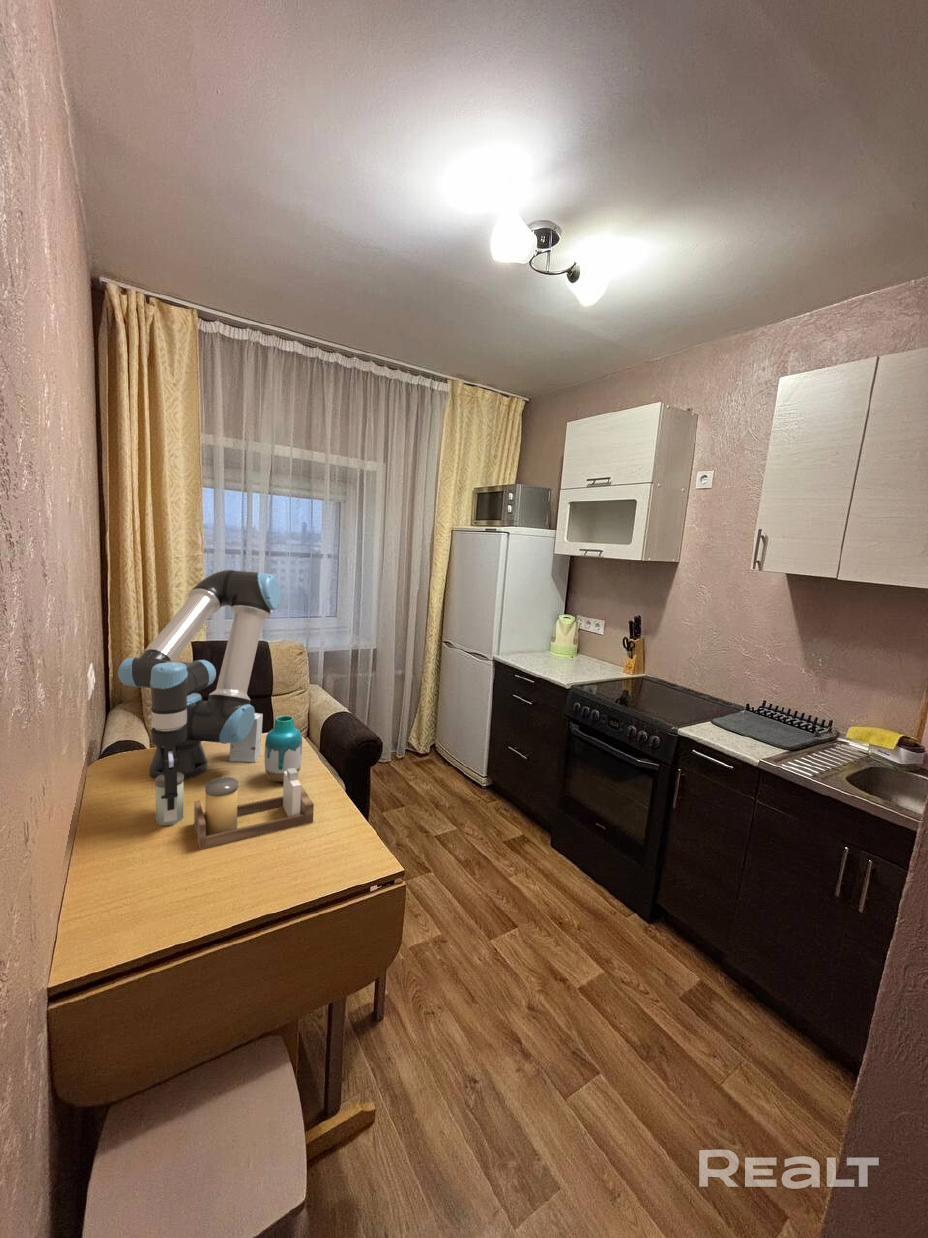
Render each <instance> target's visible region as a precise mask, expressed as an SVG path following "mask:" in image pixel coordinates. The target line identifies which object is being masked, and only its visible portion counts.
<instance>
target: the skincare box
mask: <svg viewBox="0 0 928 1238" xmlns="http://www.w3.org/2000/svg"><path fill="white" fill-rule="evenodd" d="M254 714H255V719H254V723H253V726H252V728H251V730H250V732H249V734H248V735H247V736H246V737H245V739H244V740H242V741H241V742H239V743H229V745H230V748H229V762H241V763H242V762H244V763H245V762H246V763H255V762H256V761H257V760H258V758H260V756H261V749H262V748H261V747H262V735H263V734H262V733H263V720H264V719H263V717H264V715H263V713H259V712H255V713H254Z"/></svg>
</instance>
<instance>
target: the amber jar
mask: <svg viewBox="0 0 928 1238" xmlns="http://www.w3.org/2000/svg"><path fill="white" fill-rule="evenodd" d="M204 793H205V811H204V812H205V823H206V836H208V835H212V834H217V833H221V832H225V831H229V830H234V829H238V816H237V805H238V804H239V803H238V799H239V797H238V793H239V780H238V779H236V778H234V777H230V776H227V777H226V776H223V777H216V778H214V779H211V780H210V781H209V780H208V782H206V783H205V787H204Z"/></svg>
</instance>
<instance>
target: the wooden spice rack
mask: <svg viewBox="0 0 928 1238" xmlns="http://www.w3.org/2000/svg"><path fill="white" fill-rule="evenodd" d="M193 806H194V813H193V815H194V816H193V817H194V818H193V819H194V821H193V822H194V824H193V825H194V829H195V833H196V838H197V842H198V843H197V844H198V847H199V848H198V849H199V850H204V849H209V848H213V847H218V846H221V845H225V844H230V843H233V842H238V841H242V840H246V839H250V838H254V837H258V836H261V835H262V836H263V835H266V834H270V833H274V832H278V831H282V830H287V829H291V828H294V827H299V826H303V825H307V824H312V823H314V807H315V805H314V802H313V801H312V799H311V798H310V795H308V793H307V792H306V790H305V789H304V787H303V786H302V784H301V802H300V814H298V815H294V816H290V817H288V816H286V817H282V818H278V819H277V818H276V819H272V820H268V821H265V822H260V823H257V824H253V825H252V824H251V825H247V826H243V827H237V829H234V830H229V831H225V832H221V833H217V834H212V835H208V836H206V823H205V811H204V810H203V807H202V804H201V800H200V799H199V800H194V804H193ZM281 807H283V795H281V796H277V797H272V798H268V799H267V798H266V799H263V800H257V801H253V802H248V803H243V804H237V817H240V816H245V815H249V814H255V813H260V812H263V811H269V810H274V809H277V808H278V809H279V808H281ZM283 808H284V807H283ZM203 811H204V812H203Z"/></svg>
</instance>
